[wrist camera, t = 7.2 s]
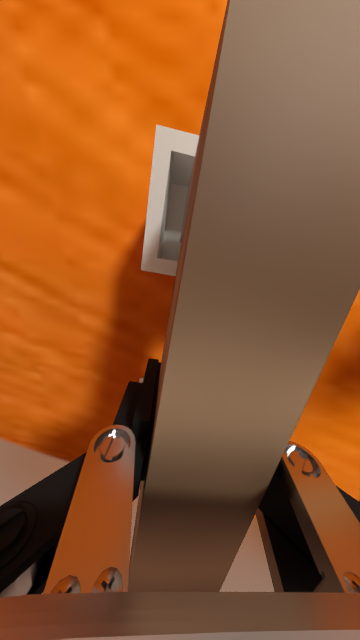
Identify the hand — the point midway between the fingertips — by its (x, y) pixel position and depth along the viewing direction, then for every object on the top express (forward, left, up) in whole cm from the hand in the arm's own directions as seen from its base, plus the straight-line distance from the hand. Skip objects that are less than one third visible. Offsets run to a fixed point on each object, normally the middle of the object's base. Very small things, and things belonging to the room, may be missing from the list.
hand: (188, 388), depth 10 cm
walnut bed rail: (0, 0, -2) cm, 2 cm away
